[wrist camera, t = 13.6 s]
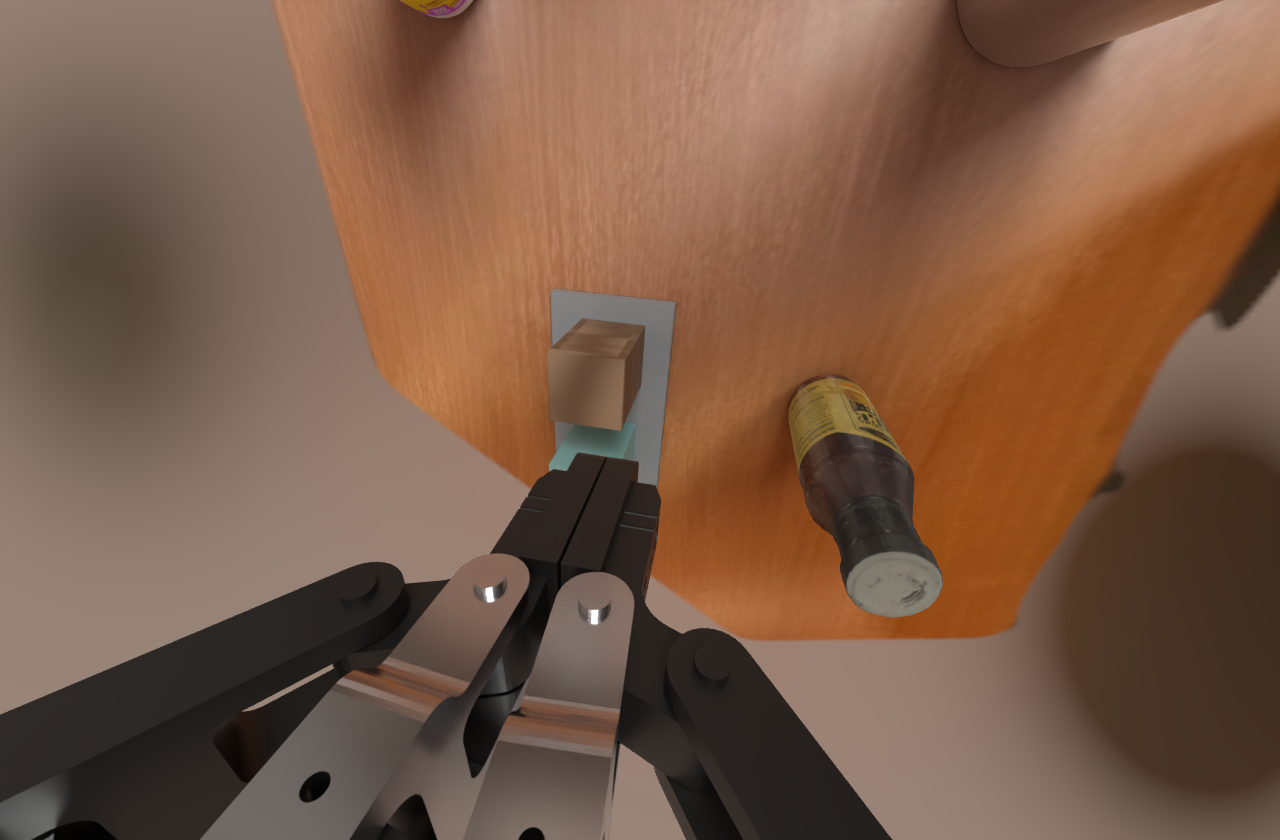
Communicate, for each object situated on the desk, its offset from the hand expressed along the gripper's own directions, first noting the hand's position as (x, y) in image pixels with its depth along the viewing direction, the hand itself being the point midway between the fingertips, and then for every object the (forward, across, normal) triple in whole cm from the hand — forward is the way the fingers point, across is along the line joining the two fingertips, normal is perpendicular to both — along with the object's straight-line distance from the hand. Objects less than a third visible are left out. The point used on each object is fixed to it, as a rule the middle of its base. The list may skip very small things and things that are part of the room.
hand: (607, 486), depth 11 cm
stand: (+27, +6, +11) cm, 30 cm away
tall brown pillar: (+26, +6, +6) cm, 27 cm away
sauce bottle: (+27, -12, +9) cm, 31 cm away
